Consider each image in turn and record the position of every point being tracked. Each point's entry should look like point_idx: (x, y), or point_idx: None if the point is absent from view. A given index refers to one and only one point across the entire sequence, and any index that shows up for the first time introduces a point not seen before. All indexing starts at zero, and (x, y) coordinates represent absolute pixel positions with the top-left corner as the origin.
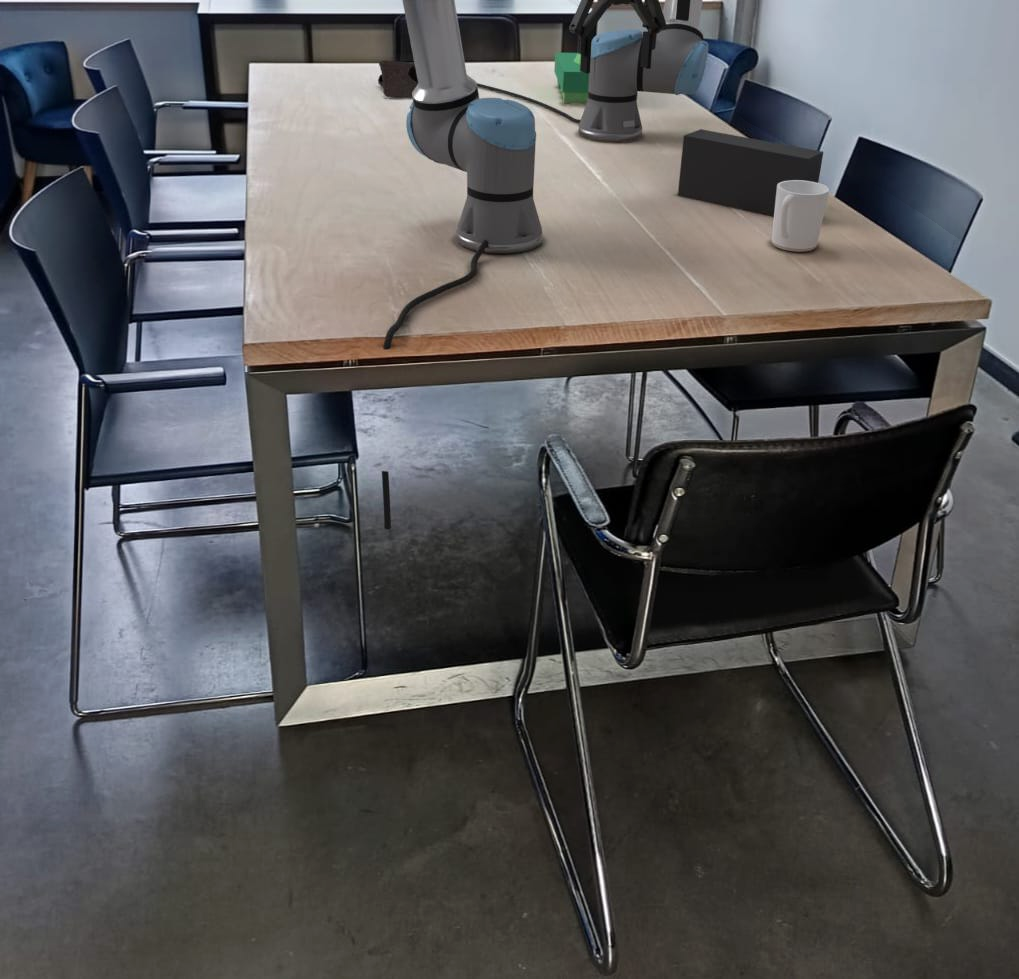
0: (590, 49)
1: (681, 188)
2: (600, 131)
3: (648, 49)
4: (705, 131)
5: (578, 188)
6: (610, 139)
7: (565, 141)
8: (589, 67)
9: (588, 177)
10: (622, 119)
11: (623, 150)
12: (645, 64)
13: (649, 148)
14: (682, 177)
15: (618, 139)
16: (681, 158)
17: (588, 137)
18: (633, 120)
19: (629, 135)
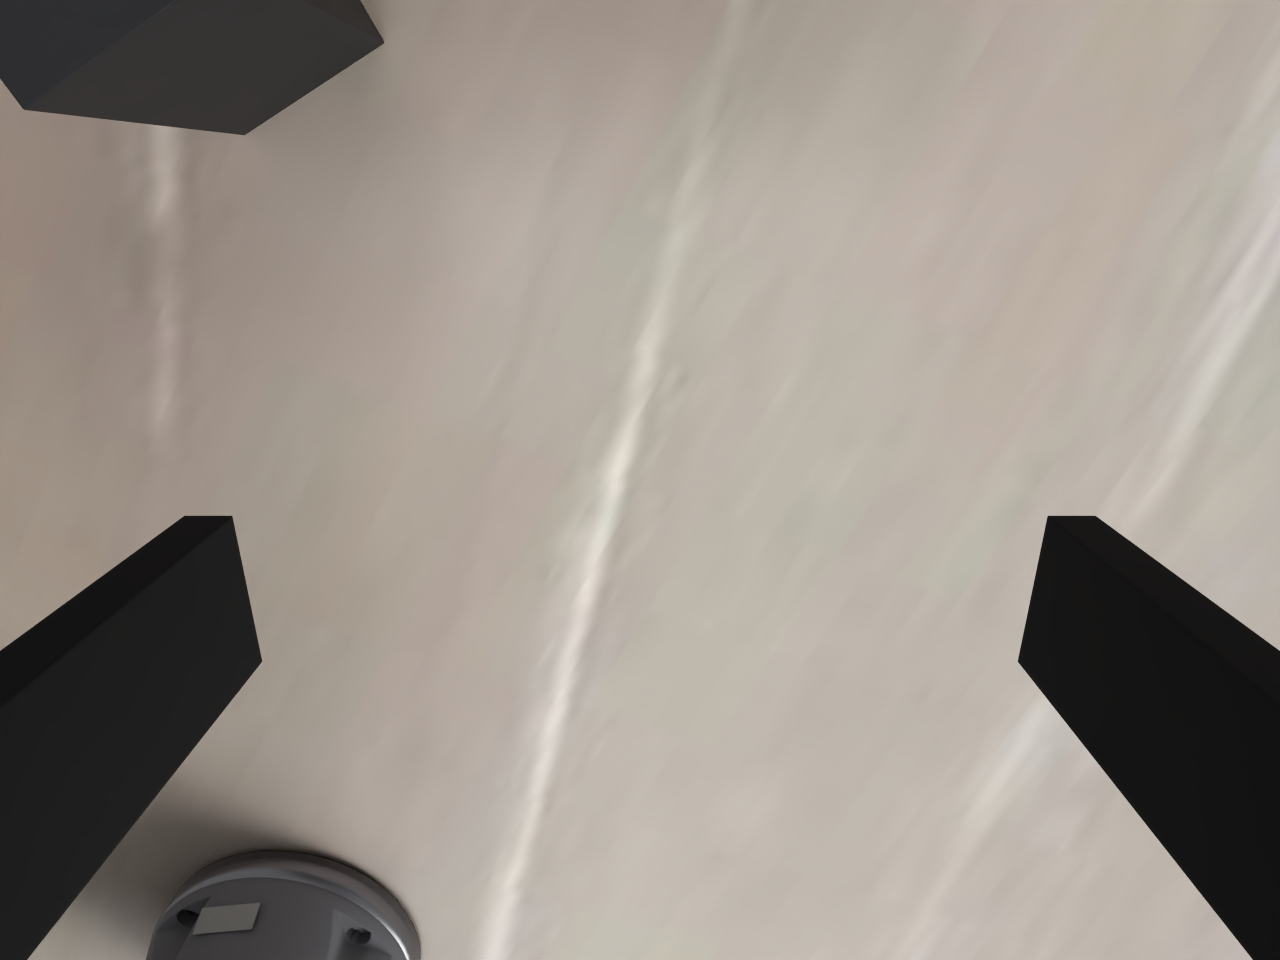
0: (1263, 682)
1: (360, 16)
2: (362, 917)
3: (79, 652)
4: (5, 19)
5: (795, 340)
6: (335, 870)
7: (505, 922)
8: (1095, 545)
9: (662, 477)
10: (248, 941)
11: (329, 763)
12: (220, 580)
13: (207, 755)
14: (338, 5)
15: (302, 861)
16: (306, 1)
17: (407, 921)
18: (196, 932)
19: (246, 870)
